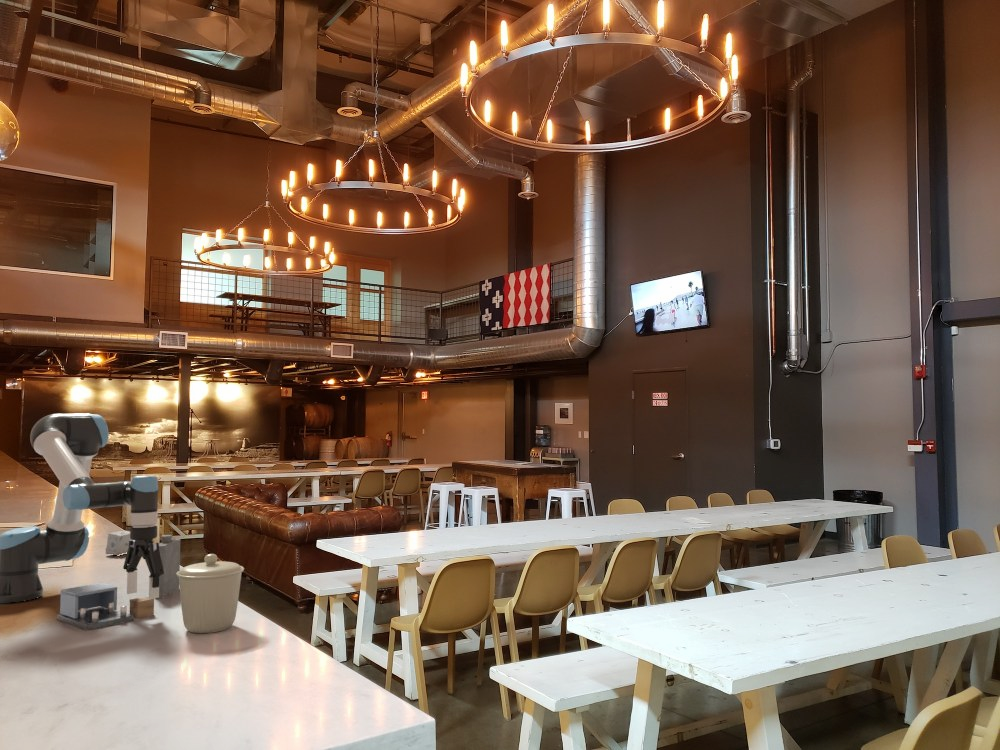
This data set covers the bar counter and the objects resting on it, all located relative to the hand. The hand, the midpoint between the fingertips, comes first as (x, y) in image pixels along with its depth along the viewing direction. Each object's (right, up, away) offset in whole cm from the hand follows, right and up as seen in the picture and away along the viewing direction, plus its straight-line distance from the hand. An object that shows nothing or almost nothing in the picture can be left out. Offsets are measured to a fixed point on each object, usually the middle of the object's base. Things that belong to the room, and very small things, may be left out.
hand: (142, 595), depth 223 cm
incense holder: (-63, -14, +107) cm, 125 cm away
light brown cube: (0, -6, 0) cm, 6 cm away
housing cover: (-15, -4, -3) cm, 16 cm away
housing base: (-12, -6, -5) cm, 14 cm away
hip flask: (-6, -8, +30) cm, 31 cm away
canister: (+27, -5, -16) cm, 32 cm away
